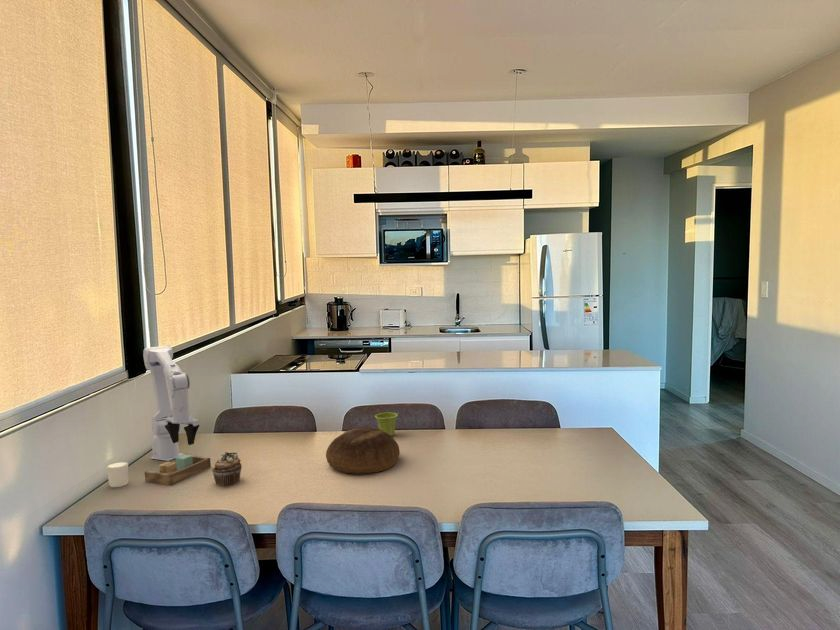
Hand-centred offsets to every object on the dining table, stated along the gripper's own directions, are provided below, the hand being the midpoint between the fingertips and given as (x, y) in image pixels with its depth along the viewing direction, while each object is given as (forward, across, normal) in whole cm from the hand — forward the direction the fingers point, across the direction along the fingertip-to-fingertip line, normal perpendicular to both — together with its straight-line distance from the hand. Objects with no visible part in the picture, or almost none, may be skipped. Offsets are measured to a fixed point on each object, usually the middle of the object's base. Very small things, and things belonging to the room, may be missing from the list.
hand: (183, 443), depth 219 cm
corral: (+10, +2, -4) cm, 11 cm away
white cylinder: (+10, -12, -19) cm, 24 cm away
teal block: (+10, 0, 0) cm, 10 cm away
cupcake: (+10, +24, -5) cm, 27 cm away
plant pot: (+10, +52, +61) cm, 81 cm away
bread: (+10, +60, +26) cm, 67 cm away
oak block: (+10, 0, -8) cm, 13 cm away
